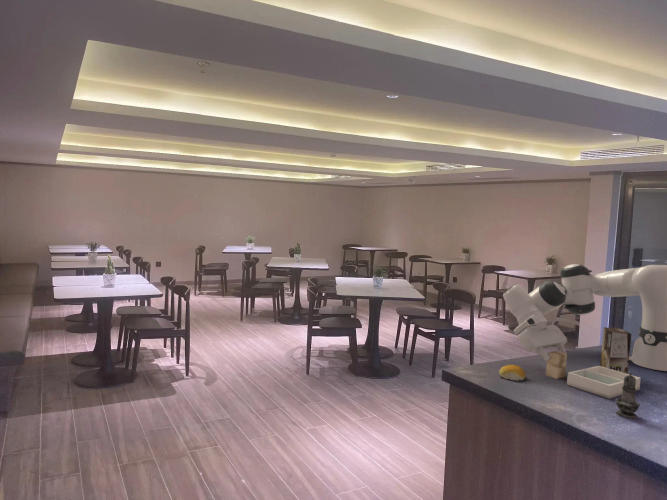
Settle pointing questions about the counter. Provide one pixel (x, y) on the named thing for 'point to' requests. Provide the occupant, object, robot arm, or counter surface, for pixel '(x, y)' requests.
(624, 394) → the dark grey upright piece
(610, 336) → the coffee box
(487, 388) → the counter surface
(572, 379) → the caddy
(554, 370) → the maple block
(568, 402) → the counter surface
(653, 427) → the counter surface
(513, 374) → the bread roll
